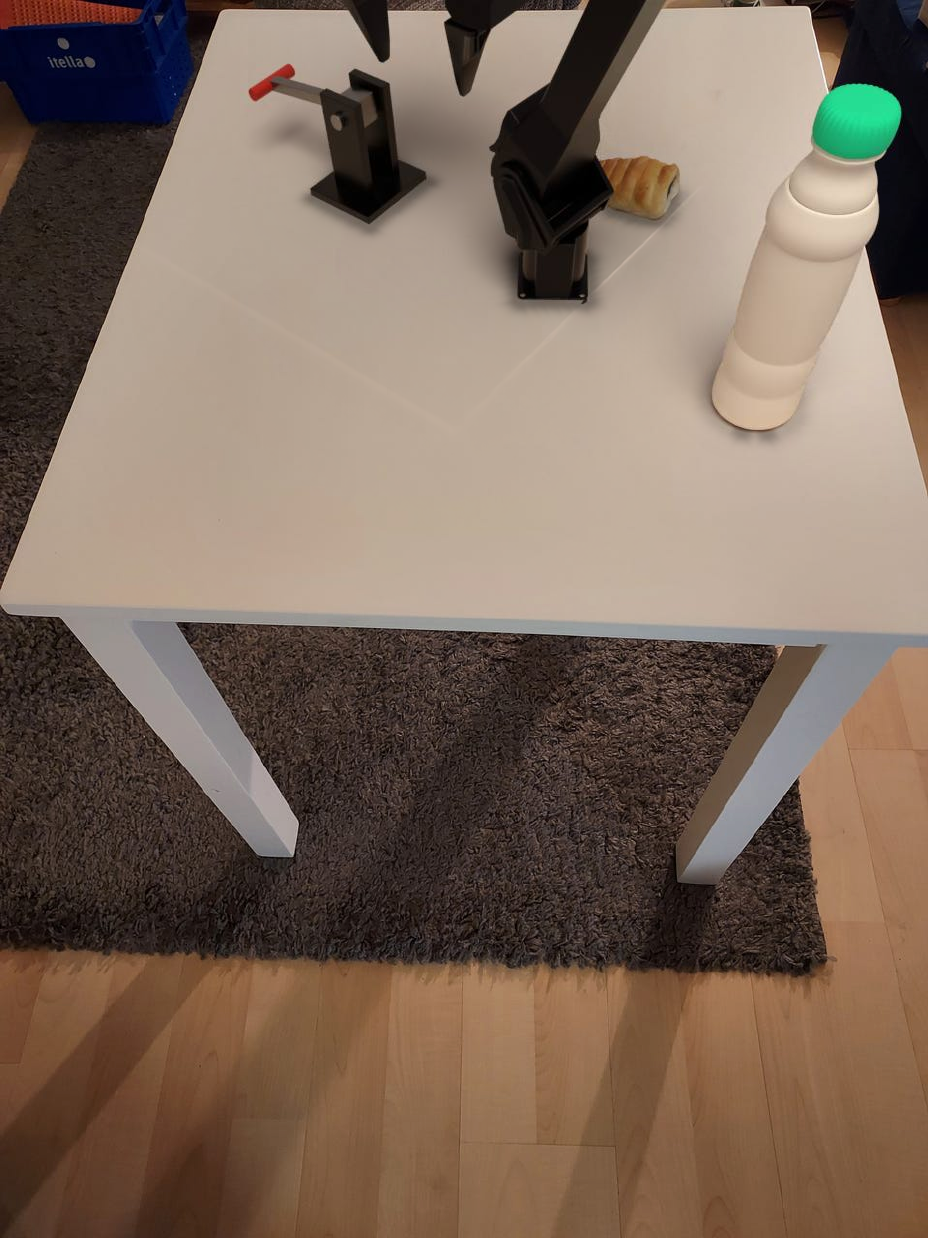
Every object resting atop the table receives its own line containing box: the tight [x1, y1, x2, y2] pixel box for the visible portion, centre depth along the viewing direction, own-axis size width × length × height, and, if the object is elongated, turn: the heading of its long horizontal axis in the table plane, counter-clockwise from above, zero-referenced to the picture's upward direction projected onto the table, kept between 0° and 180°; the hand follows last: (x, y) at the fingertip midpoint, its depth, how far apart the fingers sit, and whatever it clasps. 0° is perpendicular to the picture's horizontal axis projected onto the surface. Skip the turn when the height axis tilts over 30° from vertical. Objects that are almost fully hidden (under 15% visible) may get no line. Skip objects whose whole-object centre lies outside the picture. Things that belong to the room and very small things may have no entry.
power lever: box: [248, 63, 378, 127], centre depth 82 cm, size 14×6×2 cm, turn 51°
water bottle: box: [711, 83, 902, 431], centre depth 60 cm, size 7×7×25 cm
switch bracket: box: [309, 68, 427, 225], centre depth 82 cm, size 8×9×10 cm
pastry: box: [599, 155, 681, 220], centre depth 83 cm, size 9×7×4 cm
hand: (424, 76), depth 73 cm, fingers open, 9 cm apart
